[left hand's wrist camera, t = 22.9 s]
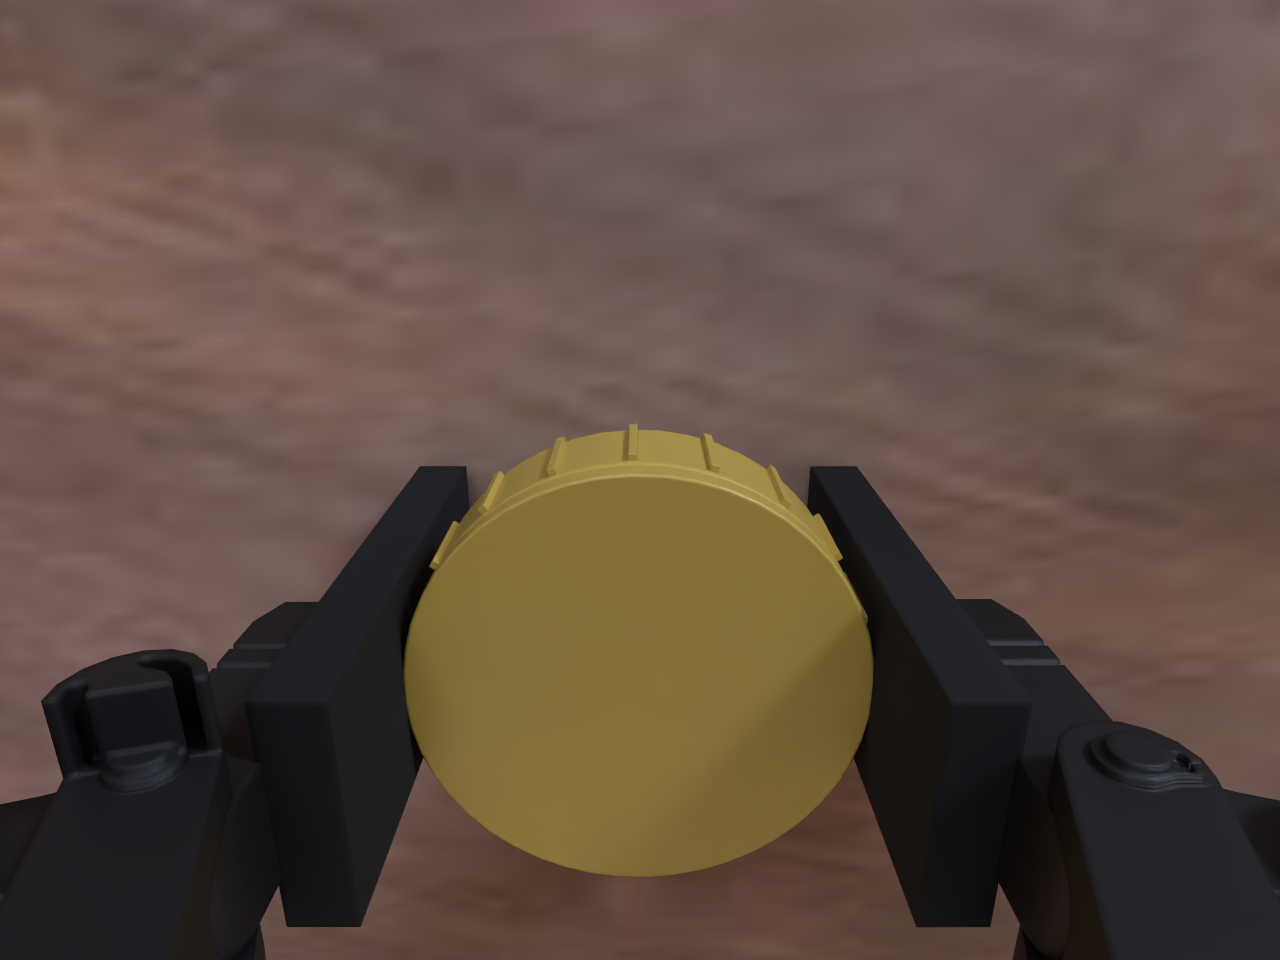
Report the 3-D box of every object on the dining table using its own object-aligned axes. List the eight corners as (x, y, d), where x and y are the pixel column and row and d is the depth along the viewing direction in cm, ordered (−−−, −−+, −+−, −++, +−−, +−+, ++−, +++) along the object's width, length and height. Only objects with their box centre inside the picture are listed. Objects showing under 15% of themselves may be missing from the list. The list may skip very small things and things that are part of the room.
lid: (343, 594, 12) (292, 665, 10) (671, 329, 10) (678, 359, 9) (611, 850, 13) (607, 949, 12) (926, 646, 12) (972, 723, 10)
